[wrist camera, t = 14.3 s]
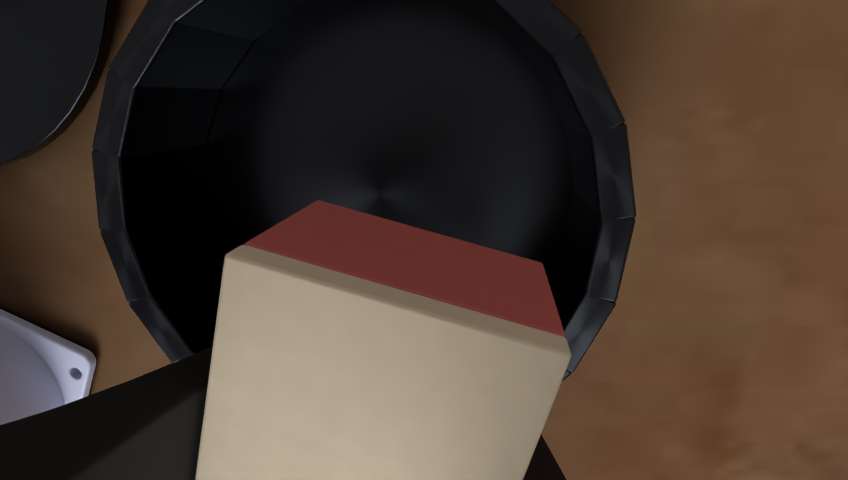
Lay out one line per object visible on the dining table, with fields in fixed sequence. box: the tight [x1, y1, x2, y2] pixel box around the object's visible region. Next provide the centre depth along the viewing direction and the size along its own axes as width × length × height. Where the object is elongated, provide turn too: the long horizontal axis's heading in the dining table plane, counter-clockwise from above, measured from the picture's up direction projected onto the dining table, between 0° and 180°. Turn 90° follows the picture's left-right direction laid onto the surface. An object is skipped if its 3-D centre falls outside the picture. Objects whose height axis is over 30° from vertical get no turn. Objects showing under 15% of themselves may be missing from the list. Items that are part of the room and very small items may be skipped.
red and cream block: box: [195, 200, 571, 480], centre depth 9 cm, size 7×4×4 cm, turn 166°
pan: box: [92, 0, 636, 381], centre depth 14 cm, size 14×14×4 cm
